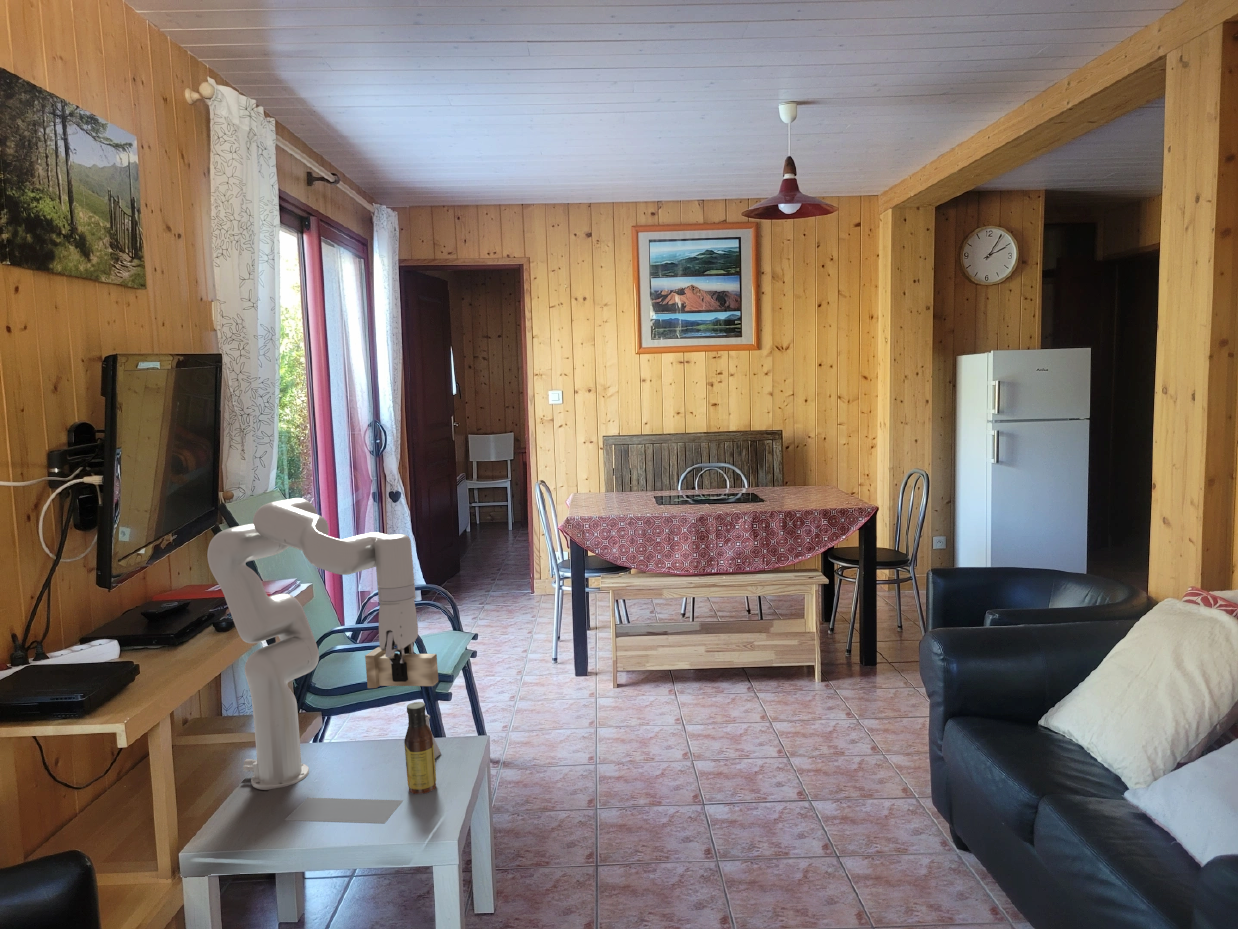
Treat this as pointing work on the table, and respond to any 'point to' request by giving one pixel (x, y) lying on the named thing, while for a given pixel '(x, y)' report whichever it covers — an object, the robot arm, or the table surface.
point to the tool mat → (344, 810)
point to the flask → (436, 748)
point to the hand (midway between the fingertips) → (403, 677)
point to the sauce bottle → (419, 751)
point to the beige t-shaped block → (418, 669)
